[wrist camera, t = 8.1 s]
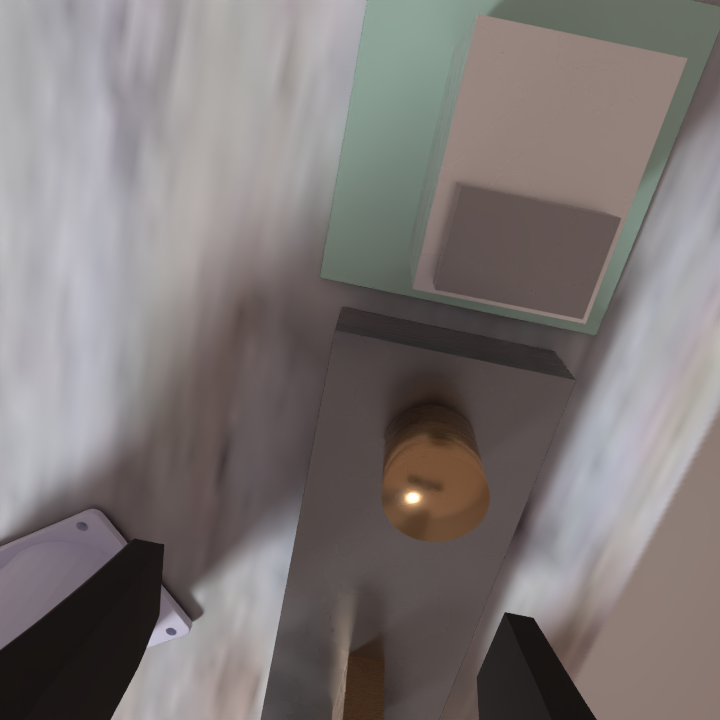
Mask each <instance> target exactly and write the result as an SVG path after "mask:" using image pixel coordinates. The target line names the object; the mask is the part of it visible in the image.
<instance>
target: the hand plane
mask: <svg viewBox="0 0 720 720" xmlns="http://www.w3.org/2000/svg"><path fill="white" fill-rule="evenodd" d="M575 381H576V380H575V378H574V377H573V376H572V374H571V373H570V372H569V370H568V369H567V368H566V366H565V365H564V364H563V362H562V361H561V360H560V358H559V357H558V356H557V354H556V353H555V352H554V351H550V350H545V349H540V348H535V347H530V346H526V345H521V344H516V343H511V342H507V341H502V340H497V339H492V338H487V337H483V336H478V335H473V334H468V333H464V332H459V331H454V330H449V329H444V328H440V327H435V326H430V325H425V324H421V323H416V322H411V321H406V320H401V319H397V318H392V317H387V316H382V315H378V314H373V313H368V312H363V311H358V310H354V309H349V308H344V307H342V309H341V313H340V316H339V319H338V322H337V325H336V329H335V333H334V338H333V343H332V349H331V354H330V359H329V364H328V370H327V375H326V380H325V385H324V390H323V396H322V401H321V406H320V411H319V417H318V422H317V427H316V432H315V438H314V443H313V448H312V453H311V459H310V464H309V469H308V474H307V479H306V485H305V490H304V495H303V500H302V506H301V511H300V516H299V521H298V527H297V532H296V537H295V542H294V548H293V553H292V558H291V563H290V569H289V574H288V579H287V584H286V589H285V595H284V600H283V605H282V610H281V616H280V621H279V626H278V631H277V637H276V642H275V647H274V652H273V658H272V663H271V668H270V673H269V678H268V684H267V689H266V694H265V699H264V705H263V710H262V715H261V720H439V718H440V716H441V713H442V711H443V708H444V706H445V703H446V701H447V698H448V696H449V693H450V691H451V689H452V686H453V684H454V681H455V679H456V676H457V674H458V671H459V669H460V666H461V664H462V661H463V659H464V656H465V654H466V651H467V649H468V646H469V644H470V641H471V639H472V636H473V634H474V632H475V629H476V627H477V624H478V622H479V619H480V617H481V614H482V612H483V609H484V607H485V604H486V602H487V599H488V597H489V594H490V592H491V589H492V587H493V584H494V582H495V579H496V577H497V575H498V572H499V570H500V567H501V565H502V562H503V560H504V557H505V555H506V552H507V550H508V547H509V545H510V542H511V540H512V537H513V535H514V532H515V530H516V527H517V525H518V522H519V520H520V518H521V515H522V513H523V510H524V508H525V505H526V503H527V500H528V498H529V495H530V493H531V490H532V488H533V485H534V483H535V480H536V478H537V475H538V473H539V470H540V468H541V465H542V463H543V461H544V458H545V456H546V453H547V451H548V448H549V446H550V443H551V441H552V438H553V436H554V433H555V431H556V428H557V426H558V423H559V421H560V418H561V416H562V413H563V411H564V408H565V406H566V404H567V401H568V399H569V396H570V394H571V391H572V389H573V386H574V384H575Z"/></svg>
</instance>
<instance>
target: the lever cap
mask: <svg viewBox="0 0 720 720" xmlns="http://www.w3.org/2000/svg"><path fill="white" fill-rule="evenodd" d="M687 59H688V58H683V57H679V56H674V55H669V54H665V53H660V52H655V51H650V50H646V49H641V48H636V47H632V46H627V45H622V44H617V43H613V42H608V41H603V40H599V39H594V38H589V37H584V36H580V35H575V34H570V33H566V32H561V31H556V30H551V29H547V28H542V27H537V26H533V25H528V24H523V23H519V22H514V21H509V20H504V19H500V18H495V17H490V16H486V15H481V14H477V16H476V17H475V19H474V20H473V22H472V23H471V25H470V26H469V28H468V29H467V31H466V32H465V34H464V35H463V37H462V38H461V40H460V41H459V43H458V44H457V46H456V47H455V49H454V50H453V54H452V58H451V63H450V67H449V72H448V76H447V80H446V85H445V89H444V94H443V98H442V102H441V107H440V111H439V116H438V120H437V124H436V129H435V133H434V138H433V142H432V147H431V151H430V155H429V160H428V164H427V169H426V173H425V177H424V182H423V186H422V191H421V195H420V199H419V204H418V208H417V213H416V217H415V222H414V226H413V230H412V235H411V239H410V244H409V248H408V254H409V263H410V271H411V280H412V289H415V290H420V291H425V292H430V293H435V294H440V295H445V296H450V297H455V298H460V299H465V300H470V301H475V302H480V303H485V304H489V305H494V306H499V307H504V308H509V309H514V310H519V311H524V312H529V313H534V314H539V315H544V316H549V317H554V318H559V319H564V320H569V321H573V322H578V323H583V324H586V322H587V319H588V317H589V314H590V311H591V309H592V306H593V303H594V301H595V298H596V296H597V293H598V290H599V288H600V285H601V283H602V280H603V277H604V275H605V272H606V270H607V267H608V264H609V262H610V259H611V257H612V254H613V251H614V249H615V246H616V244H617V241H618V238H619V236H620V233H621V231H622V228H623V225H624V223H625V220H626V218H627V215H628V212H629V210H630V207H631V205H632V202H633V199H634V197H635V194H636V191H637V189H638V186H639V184H640V181H641V178H642V176H643V173H644V171H645V168H646V165H647V163H648V160H649V158H650V155H651V152H652V150H653V147H654V145H655V142H656V139H657V137H658V134H659V132H660V129H661V126H662V124H663V121H664V119H665V116H666V113H667V111H668V108H669V106H670V103H671V100H672V98H673V95H674V93H675V90H676V87H677V85H678V82H679V79H680V77H681V74H682V72H683V69H684V66H685V64H686V61H687Z"/></svg>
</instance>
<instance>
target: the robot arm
mask: <svg viewBox="0 0 720 720" xmlns="http://www.w3.org/2000/svg"><path fill="white" fill-rule="evenodd" d="M82 522H84V523H85V524H87V525H85V524H84V523H82ZM163 554H164V544H159V543H154V542H148V541H143V540H138V539H134V540H132V541H130V542H129V543H127V542H126V541H125V539H124V538H123V537H122V536H121V534H120V533H119V532H118V531H117V530H116V528H115V527H114V526H113V525H112V524H111V522H110V521H109V520H108V519H107V517H106V516H105V515H104V514H103V513H102V512H101V511H99V510H97V509H88V510H86V511H83V512H81V513H79V514H76V515H74V516H71V517H69V518H67V519H64V520H62V521H60V522H57V523H55V524H53V525H50V526H48V527H46V528H43V529H41V530H39V531H36V532H34V533H31V534H29V535H27V536H24V537H22V538H20V539H17V540H15V541H13V542H10V543H8V544H6V545H3V546H1V547H0V720H110V719H111V718H112V716H113V714H114V712H115V710H116V708H117V706H118V704H119V703H120V701H121V699H122V697H123V695H124V693H125V691H126V689H127V688H128V686H129V684H130V682H131V680H132V678H133V676H134V674H135V672H136V670H137V669H138V667H139V664H140V662H141V659H142V657H143V655H144V652H145V650H146V648H148V647H151V646H154V645H157V644H160V643H163V642H166V641H169V640H172V639H175V638H178V637H181V636H184V635H186V634H188V633H189V632H190V630H191V627H192V621H191V620H190V618H189V617H188V616H187V615H186V614H185V612H184V611H183V610H182V609H181V607H180V606H179V605H178V604H177V603H176V601H175V600H174V599H173V598H172V596H171V595H170V594H169V593H168V592H167V590H166V589H165V588H164V587H163V586H162V570H163ZM477 688H478V708H479V720H597V719H596V718H595V716H594V715H593V713H592V712H591V710H590V709H589V707H588V706H587V704H586V703H585V701H584V700H583V698H582V696H581V695H580V693H579V691H578V690H577V688H576V687H575V685H574V683H573V682H572V680H571V678H570V677H569V675H568V674H567V672H566V670H565V669H564V667H563V665H562V664H561V662H560V661H559V659H558V657H557V656H556V654H555V652H554V651H553V649H552V647H551V646H550V644H549V642H548V641H547V639H546V638H545V636H544V634H543V633H542V631H541V629H540V628H539V626H538V625H537V623H536V621H535V620H534V618H531V617H526V616H521V615H516V614H511V613H506V612H505V613H504V615H503V618H502V620H501V622H500V625H499V627H498V629H497V632H496V634H495V636H494V639H493V641H492V643H491V646H490V648H489V650H488V653H487V655H486V657H485V660H484V662H483V664H482V667H481V669H480V671H479V674H478V676H477Z"/></svg>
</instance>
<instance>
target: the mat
mask: <svg viewBox="0 0 720 720" xmlns="http://www.w3.org/2000/svg"><path fill="white" fill-rule="evenodd" d="M477 14H481V15H486V16H490V17H495V18H500V19H504V20H509V21H514V22H519V23H523V24H528V25H533V26H537V27H542V28H547V29H551V30H556V31H561V32H566V33H570V34H575V35H580V36H584V37H589V38H594V39H599V40H603V41H608V42H613V43H617V44H622V45H627V46H632V47H636V48H641V49H646V50H650V51H655V52H660V53H665V54H669V55H674V56H679V57H683V58H688V59H687V61H686V64H685V66H684V69H683V72H682V74H681V77H680V79H679V82H678V85H677V87H676V90H675V93H674V95H673V98H672V100H671V103H670V106H669V108H668V111H667V113H666V116H665V119H664V121H663V124H662V126H661V129H660V132H659V134H658V137H657V139H656V142H655V145H654V147H653V150H652V152H651V155H650V158H649V160H648V163H647V165H646V168H645V171H644V173H643V176H642V178H641V181H640V184H639V186H638V189H637V191H636V194H635V197H634V199H633V202H632V205H631V207H630V210H629V212H628V215H627V218H626V220H625V223H624V225H623V228H622V231H621V233H620V236H619V238H618V241H617V244H616V246H615V249H614V251H613V254H612V257H611V259H610V262H609V264H608V267H607V270H606V272H605V275H604V277H603V280H602V283H601V285H600V288H599V290H598V293H597V296H596V298H595V301H594V303H593V306H592V309H591V311H590V314H589V317H588V319H587V322H586V324H583V323H578V322H573V321H569V320H564V319H559V318H554V317H549V316H544V315H539V314H534V313H529V312H524V311H519V310H514V309H509V308H504V307H499V306H494V305H489V304H485V303H480V302H475V301H470V300H465V299H460V298H455V297H450V296H445V295H440V294H435V293H430V292H425V291H420V290H415V289H412V280H411V271H410V263H409V254H408V248H409V244H410V239H411V235H412V230H413V226H414V222H415V217H416V213H417V208H418V204H419V199H420V195H421V191H422V186H423V182H424V177H425V173H426V169H427V164H428V160H429V155H430V151H431V147H432V142H433V138H434V133H435V129H436V124H437V120H438V116H439V111H440V107H441V102H442V98H443V94H444V89H445V85H446V80H447V76H448V72H449V67H450V63H451V58H452V54H453V50H454V49H455V47H456V46H457V44H458V43H459V41H460V40H461V38H462V37H463V35H464V34H465V32H466V31H467V29H468V28H469V26H470V25H471V23H472V22H473V20H474V19H475V17H476V16H477ZM719 31H720V6H716V5H712V4H707V3H703V2H698V1H694V0H367V5H366V10H365V16H364V22H363V28H362V34H361V40H360V45H359V51H358V57H357V63H356V69H355V75H354V80H353V86H352V92H351V98H350V104H349V110H348V115H347V121H346V127H345V133H344V139H343V145H342V151H341V156H340V162H339V168H338V174H337V180H336V186H335V191H334V197H333V203H332V209H331V215H330V221H329V226H328V232H327V238H326V244H325V250H324V256H323V262H322V267H321V273H320V278H324V279H329V280H334V281H339V282H343V283H348V284H353V285H358V286H362V287H367V288H372V289H377V290H381V291H386V292H391V293H396V294H400V295H405V296H410V297H415V298H419V299H424V300H429V301H434V302H438V303H443V304H448V305H453V306H457V307H462V308H467V309H472V310H476V311H481V312H486V313H491V314H496V315H500V316H505V317H510V318H515V319H519V320H524V321H529V322H534V323H538V324H543V325H548V326H553V327H557V328H562V329H567V330H572V331H576V332H581V333H586V334H591V335H595V336H596V334H597V332H598V329H599V327H600V325H601V322H602V320H603V317H604V315H605V312H606V310H607V307H608V305H609V302H610V300H611V297H612V295H613V292H614V290H615V288H616V285H617V283H618V280H619V278H620V275H621V273H622V270H623V268H624V265H625V263H626V260H627V258H628V255H629V253H630V251H631V248H632V246H633V243H634V241H635V238H636V236H637V233H638V231H639V228H640V226H641V223H642V221H643V218H644V216H645V214H646V211H647V209H648V206H649V204H650V201H651V199H652V196H653V194H654V191H655V189H656V186H657V184H658V181H659V179H660V177H661V174H662V172H663V169H664V167H665V164H666V162H667V159H668V157H669V154H670V152H671V149H672V147H673V144H674V142H675V139H676V137H677V135H678V132H679V130H680V127H681V125H682V122H683V120H684V117H685V115H686V112H687V110H688V107H689V105H690V102H691V100H692V98H693V95H694V93H695V90H696V88H697V85H698V83H699V80H700V78H701V75H702V73H703V70H704V68H705V65H706V63H707V61H708V58H709V56H710V53H711V51H712V48H713V46H714V43H715V41H716V38H717V36H718V33H719Z"/></svg>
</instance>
